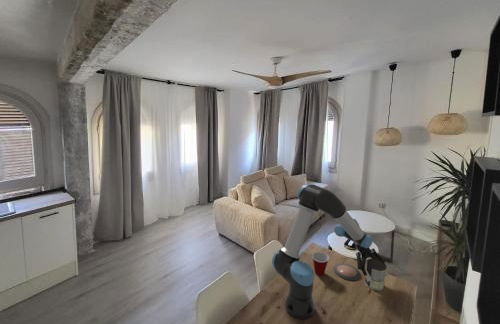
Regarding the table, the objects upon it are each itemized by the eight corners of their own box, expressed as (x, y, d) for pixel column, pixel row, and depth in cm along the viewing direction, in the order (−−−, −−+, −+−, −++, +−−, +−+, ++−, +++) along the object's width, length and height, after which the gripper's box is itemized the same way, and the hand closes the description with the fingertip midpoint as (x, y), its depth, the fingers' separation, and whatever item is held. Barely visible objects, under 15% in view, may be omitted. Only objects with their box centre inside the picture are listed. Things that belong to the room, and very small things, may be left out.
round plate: (335, 278, 148) (336, 276, 148) (332, 263, 163) (332, 261, 163) (362, 282, 145) (363, 280, 145) (356, 266, 161) (356, 265, 160)
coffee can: (361, 282, 144) (363, 262, 142) (370, 276, 150) (372, 256, 148) (378, 293, 136) (381, 271, 134) (386, 286, 142) (389, 265, 139)
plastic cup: (307, 268, 157) (309, 252, 155) (323, 267, 159) (324, 251, 157) (314, 279, 147) (316, 261, 144) (330, 277, 148) (332, 260, 146)
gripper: (371, 241, 158) (388, 275, 147) (342, 248, 149) (358, 284, 138) (379, 238, 153) (397, 272, 142) (349, 244, 144) (366, 282, 133)
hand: (378, 278), depth 140 cm, fingers open, 13 cm apart
